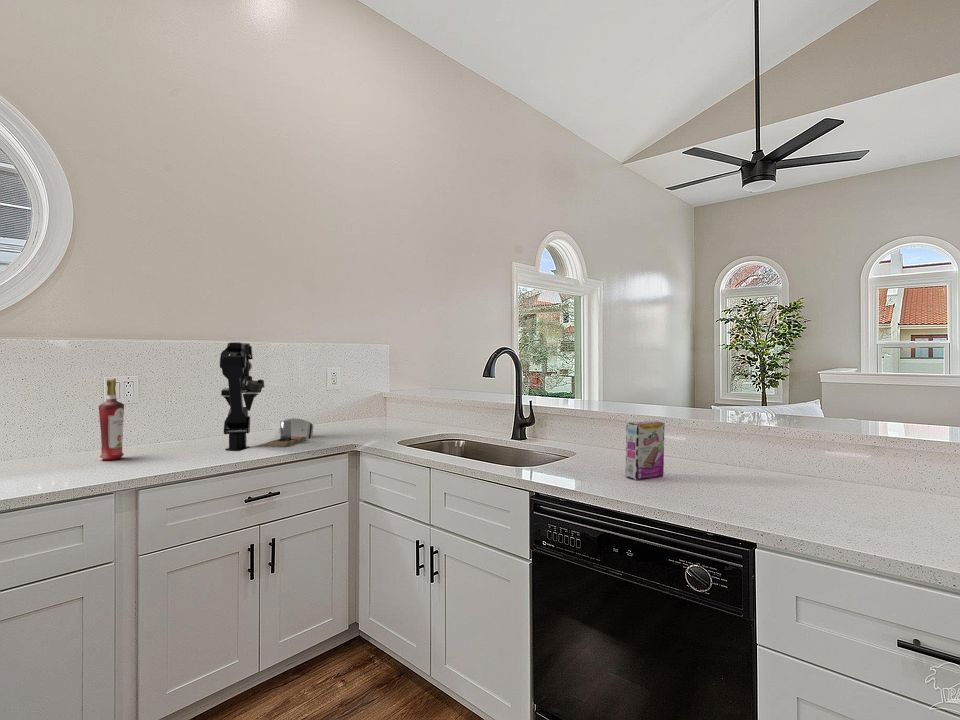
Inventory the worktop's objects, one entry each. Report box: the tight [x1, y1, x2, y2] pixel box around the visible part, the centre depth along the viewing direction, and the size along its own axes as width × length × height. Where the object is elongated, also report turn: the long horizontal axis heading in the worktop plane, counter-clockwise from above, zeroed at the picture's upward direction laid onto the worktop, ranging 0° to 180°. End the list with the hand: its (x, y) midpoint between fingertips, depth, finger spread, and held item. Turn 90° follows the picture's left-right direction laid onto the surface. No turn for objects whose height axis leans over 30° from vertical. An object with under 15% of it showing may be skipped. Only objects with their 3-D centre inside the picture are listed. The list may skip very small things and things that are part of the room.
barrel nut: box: [279, 420, 291, 441], centre depth 209 cm, size 4×4×10 cm
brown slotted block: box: [266, 436, 307, 448], centre depth 210 cm, size 16×8×3 cm, turn 171°
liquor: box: [98, 378, 125, 461], centre depth 184 cm, size 7×7×28 cm
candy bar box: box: [625, 420, 665, 481], centre depth 156 cm, size 11×5×16 cm, turn 118°
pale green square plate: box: [298, 441, 328, 447], centre depth 209 cm, size 8×8×1 cm
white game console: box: [274, 418, 314, 440], centre depth 227 cm, size 17×5×10 cm, turn 67°
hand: (241, 411), depth 215 cm, fingers open, 9 cm apart
